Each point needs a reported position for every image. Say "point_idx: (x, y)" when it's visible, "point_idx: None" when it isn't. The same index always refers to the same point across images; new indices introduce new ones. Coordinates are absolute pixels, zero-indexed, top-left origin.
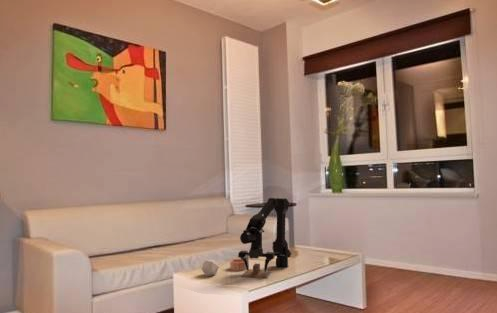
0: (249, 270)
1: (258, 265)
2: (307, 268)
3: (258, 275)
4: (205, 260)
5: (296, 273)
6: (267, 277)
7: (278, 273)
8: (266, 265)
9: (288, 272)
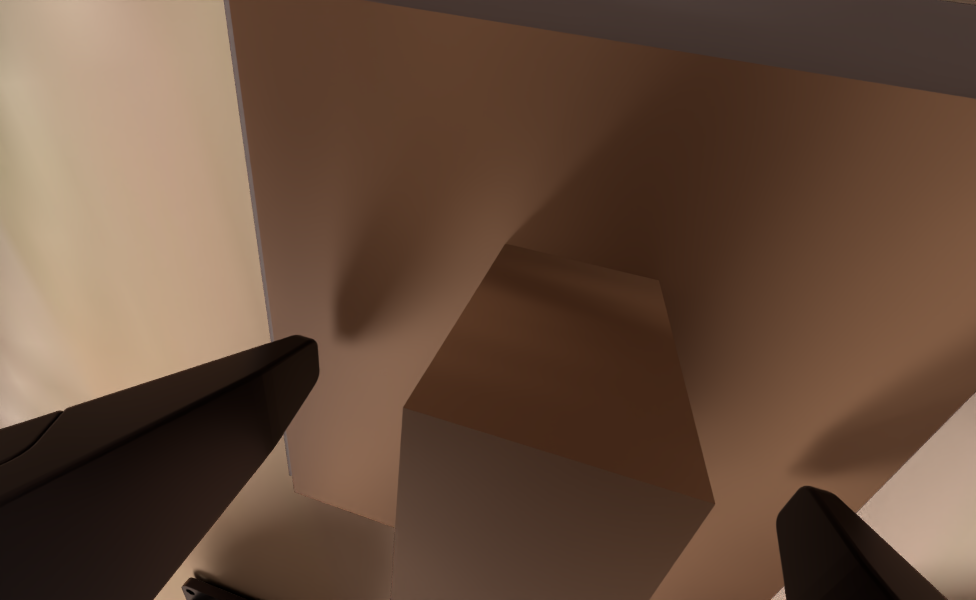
0: (706, 569)
1: (395, 543)
2: None
3: (471, 55)
4: None
5: (23, 405)
6: None
7: None
8: (35, 428)
9: None
